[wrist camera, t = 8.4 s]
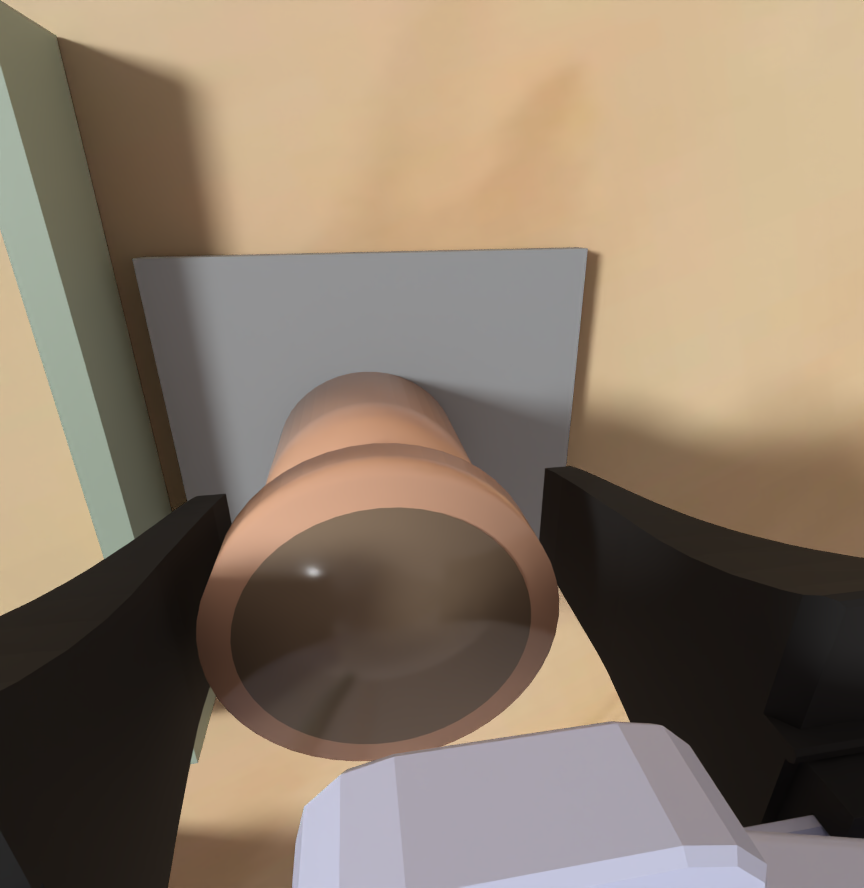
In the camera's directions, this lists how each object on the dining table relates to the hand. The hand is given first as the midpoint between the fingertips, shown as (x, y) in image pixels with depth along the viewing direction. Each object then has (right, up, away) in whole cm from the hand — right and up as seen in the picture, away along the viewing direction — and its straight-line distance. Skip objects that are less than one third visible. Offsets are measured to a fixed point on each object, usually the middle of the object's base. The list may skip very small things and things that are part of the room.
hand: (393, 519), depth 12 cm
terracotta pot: (-1, +1, +3) cm, 3 cm away
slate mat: (-1, +2, +4) cm, 4 cm away
